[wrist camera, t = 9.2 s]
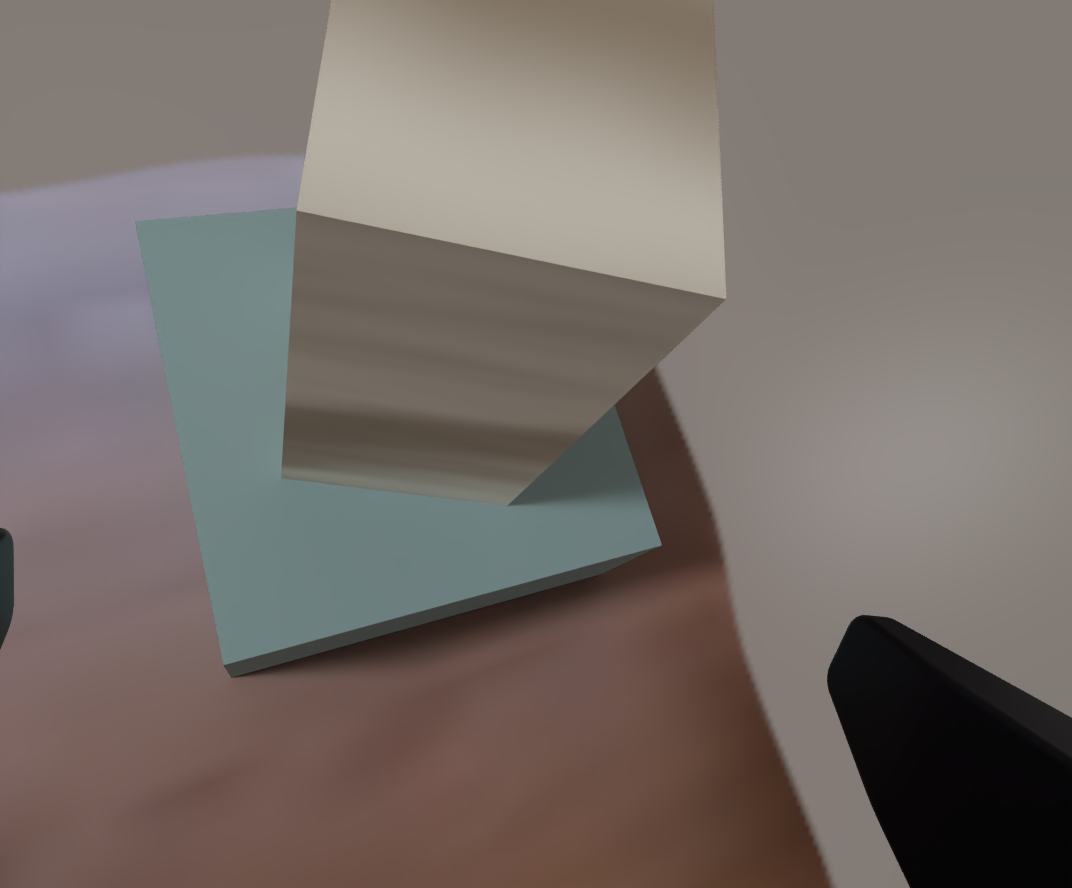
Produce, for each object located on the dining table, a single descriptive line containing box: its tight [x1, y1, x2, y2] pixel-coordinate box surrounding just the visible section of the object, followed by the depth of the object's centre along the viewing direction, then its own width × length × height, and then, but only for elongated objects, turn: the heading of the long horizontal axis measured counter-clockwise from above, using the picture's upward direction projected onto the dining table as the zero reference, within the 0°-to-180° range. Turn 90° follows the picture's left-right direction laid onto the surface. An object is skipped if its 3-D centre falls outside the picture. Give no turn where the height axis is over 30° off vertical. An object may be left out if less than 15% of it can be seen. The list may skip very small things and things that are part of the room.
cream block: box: [281, 0, 726, 506], centre depth 15 cm, size 5×5×10 cm
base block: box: [135, 208, 662, 678], centre depth 21 cm, size 10×10×4 cm
